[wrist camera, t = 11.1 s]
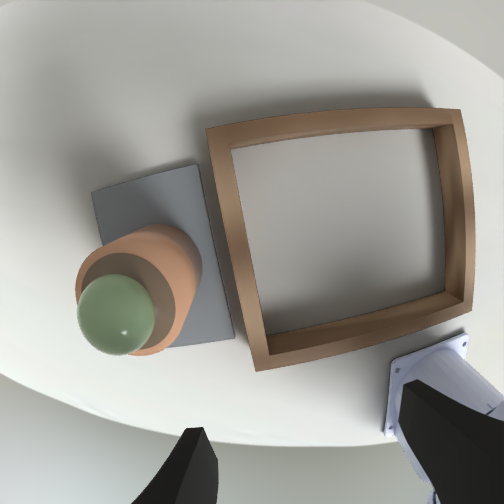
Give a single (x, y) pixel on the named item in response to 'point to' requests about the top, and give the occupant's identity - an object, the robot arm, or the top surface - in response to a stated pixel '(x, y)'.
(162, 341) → the terracotta pot
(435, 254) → the top surface
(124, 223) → the mat
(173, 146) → the top surface
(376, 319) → the frame
